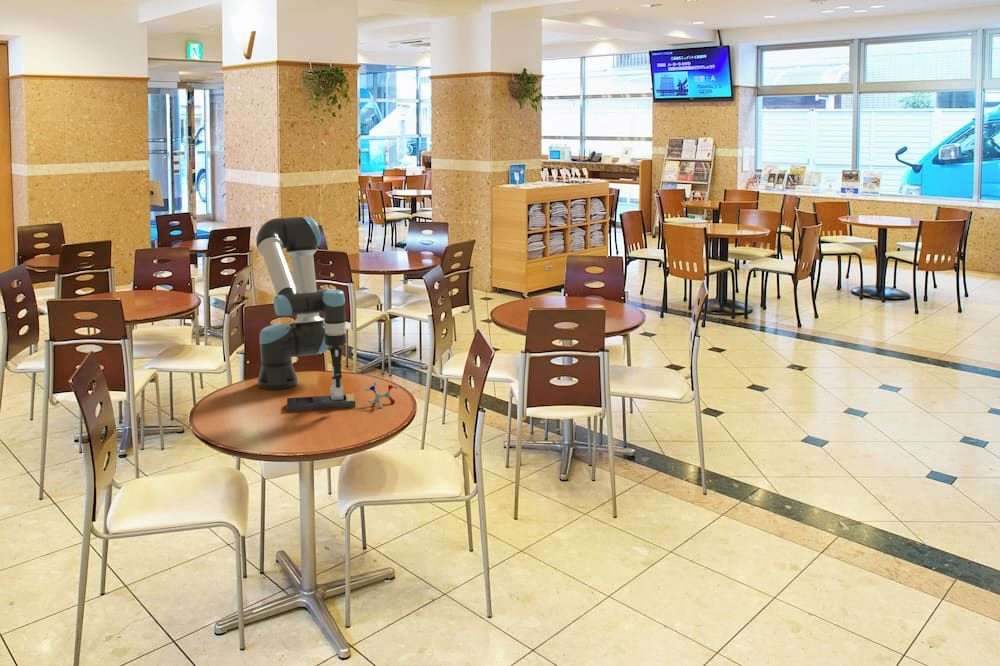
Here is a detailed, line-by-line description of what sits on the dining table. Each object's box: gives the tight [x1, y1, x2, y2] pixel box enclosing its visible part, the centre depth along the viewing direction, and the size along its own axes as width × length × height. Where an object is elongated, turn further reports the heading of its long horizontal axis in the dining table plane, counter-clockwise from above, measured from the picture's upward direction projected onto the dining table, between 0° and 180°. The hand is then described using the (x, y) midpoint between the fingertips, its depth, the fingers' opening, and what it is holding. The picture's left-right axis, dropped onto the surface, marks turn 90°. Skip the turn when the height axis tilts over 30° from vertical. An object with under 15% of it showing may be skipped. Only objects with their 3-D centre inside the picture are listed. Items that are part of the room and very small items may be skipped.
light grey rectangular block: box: [329, 384, 345, 401], centre depth 320 cm, size 4×4×7 cm
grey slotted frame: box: [286, 393, 356, 413], centre depth 319 cm, size 8×24×3 cm, turn 103°
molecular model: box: [364, 381, 399, 409], centre depth 321 cm, size 12×10×10 cm
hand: (337, 389), depth 319 cm, fingers open, 13 cm apart
